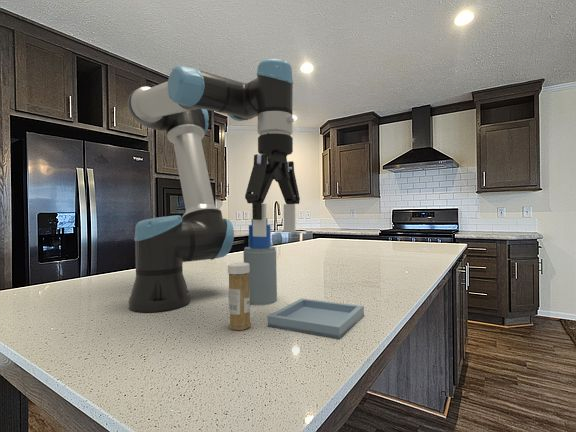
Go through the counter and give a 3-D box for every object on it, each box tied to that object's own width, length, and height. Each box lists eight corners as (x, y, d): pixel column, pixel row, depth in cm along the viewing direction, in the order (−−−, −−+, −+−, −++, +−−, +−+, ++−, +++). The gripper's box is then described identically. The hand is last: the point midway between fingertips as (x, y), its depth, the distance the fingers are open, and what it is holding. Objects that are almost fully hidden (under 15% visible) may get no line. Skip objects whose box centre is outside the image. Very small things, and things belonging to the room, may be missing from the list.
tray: (267, 326, 71) (267, 315, 71) (301, 307, 85) (301, 298, 85) (339, 339, 63) (339, 327, 63) (363, 315, 77) (363, 305, 77)
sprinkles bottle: (254, 328, 70) (253, 263, 70) (234, 332, 68) (233, 265, 68) (244, 322, 74) (243, 261, 74) (225, 326, 72) (224, 263, 71)
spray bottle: (268, 306, 87) (266, 208, 86) (238, 303, 90) (236, 209, 90) (282, 297, 95) (280, 208, 95) (253, 295, 98) (252, 209, 98)
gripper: (260, 120, 60) (261, 239, 61) (313, 143, 82) (313, 230, 83) (226, 125, 63) (227, 238, 64) (285, 146, 86) (286, 229, 86)
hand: (275, 234), depth 73 cm, fingers open, 13 cm apart
